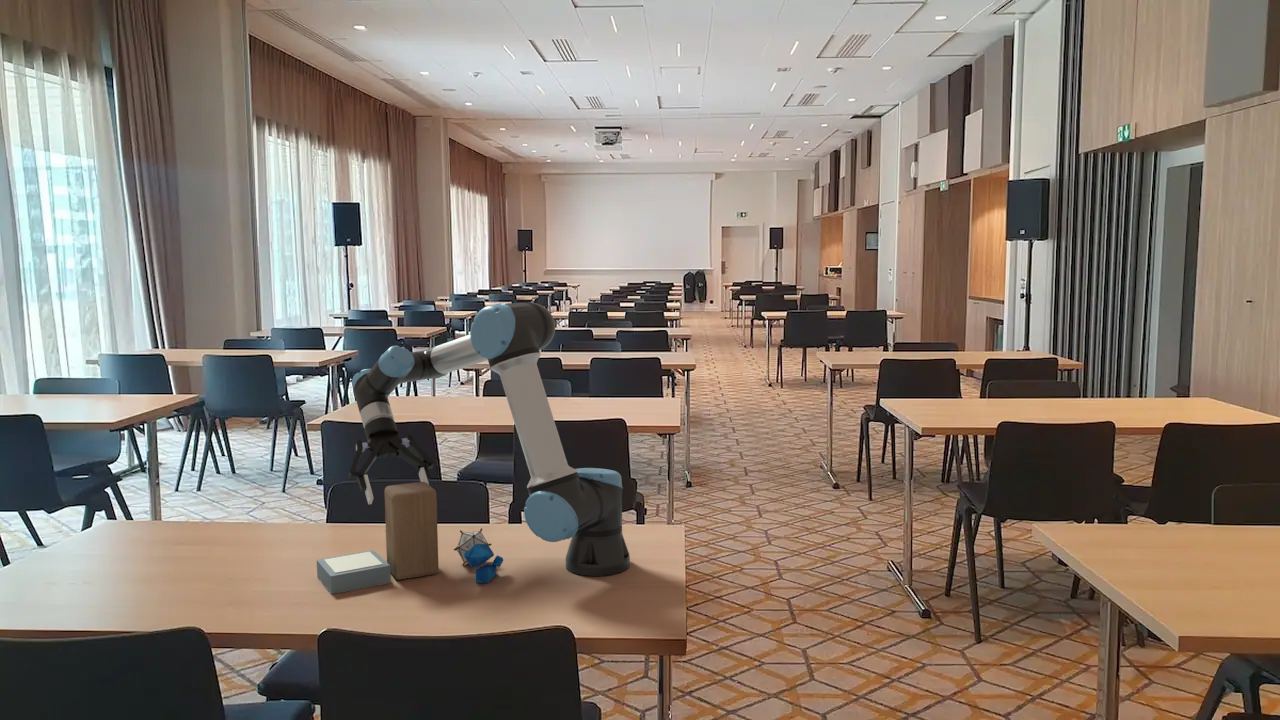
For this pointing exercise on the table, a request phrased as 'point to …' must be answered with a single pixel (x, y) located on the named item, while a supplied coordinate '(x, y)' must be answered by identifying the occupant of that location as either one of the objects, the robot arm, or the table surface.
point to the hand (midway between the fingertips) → (400, 497)
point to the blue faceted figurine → (480, 556)
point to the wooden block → (411, 530)
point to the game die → (469, 542)
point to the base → (353, 571)
